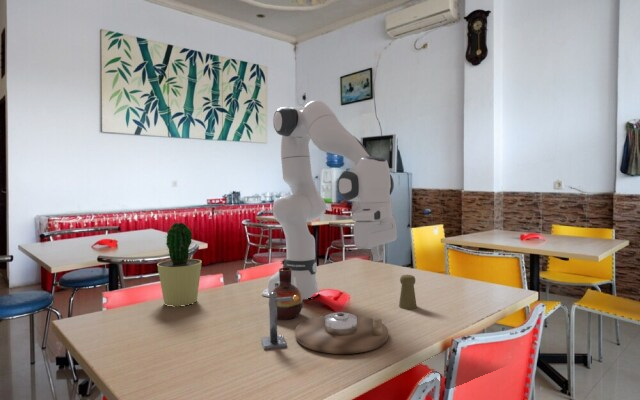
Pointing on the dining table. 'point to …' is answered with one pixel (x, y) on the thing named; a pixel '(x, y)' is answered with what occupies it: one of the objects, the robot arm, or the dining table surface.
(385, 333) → the lazy susan
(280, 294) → the vase
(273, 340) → the post
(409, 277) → the olive pawn
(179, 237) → the potted cactus
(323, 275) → the dining table surface
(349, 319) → the aluminium cover
